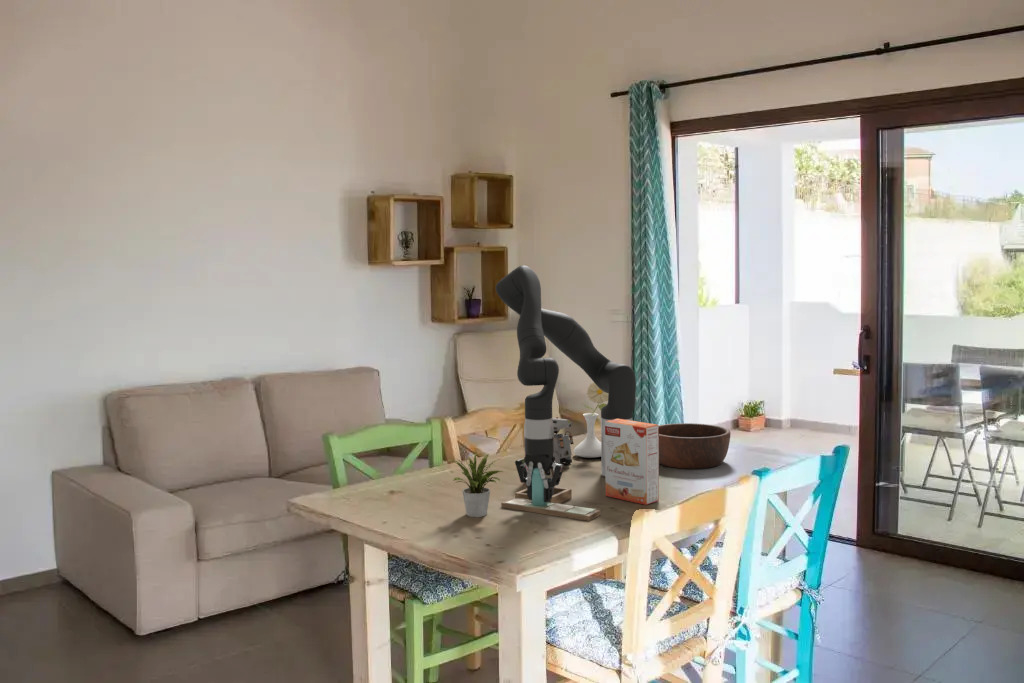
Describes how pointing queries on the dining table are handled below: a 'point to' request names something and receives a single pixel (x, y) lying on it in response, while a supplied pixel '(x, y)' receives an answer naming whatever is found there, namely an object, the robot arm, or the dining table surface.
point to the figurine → (562, 441)
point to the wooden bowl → (692, 445)
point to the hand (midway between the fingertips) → (539, 500)
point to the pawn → (537, 489)
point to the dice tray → (558, 496)
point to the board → (552, 509)
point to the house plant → (477, 487)
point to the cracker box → (632, 461)
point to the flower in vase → (592, 425)
